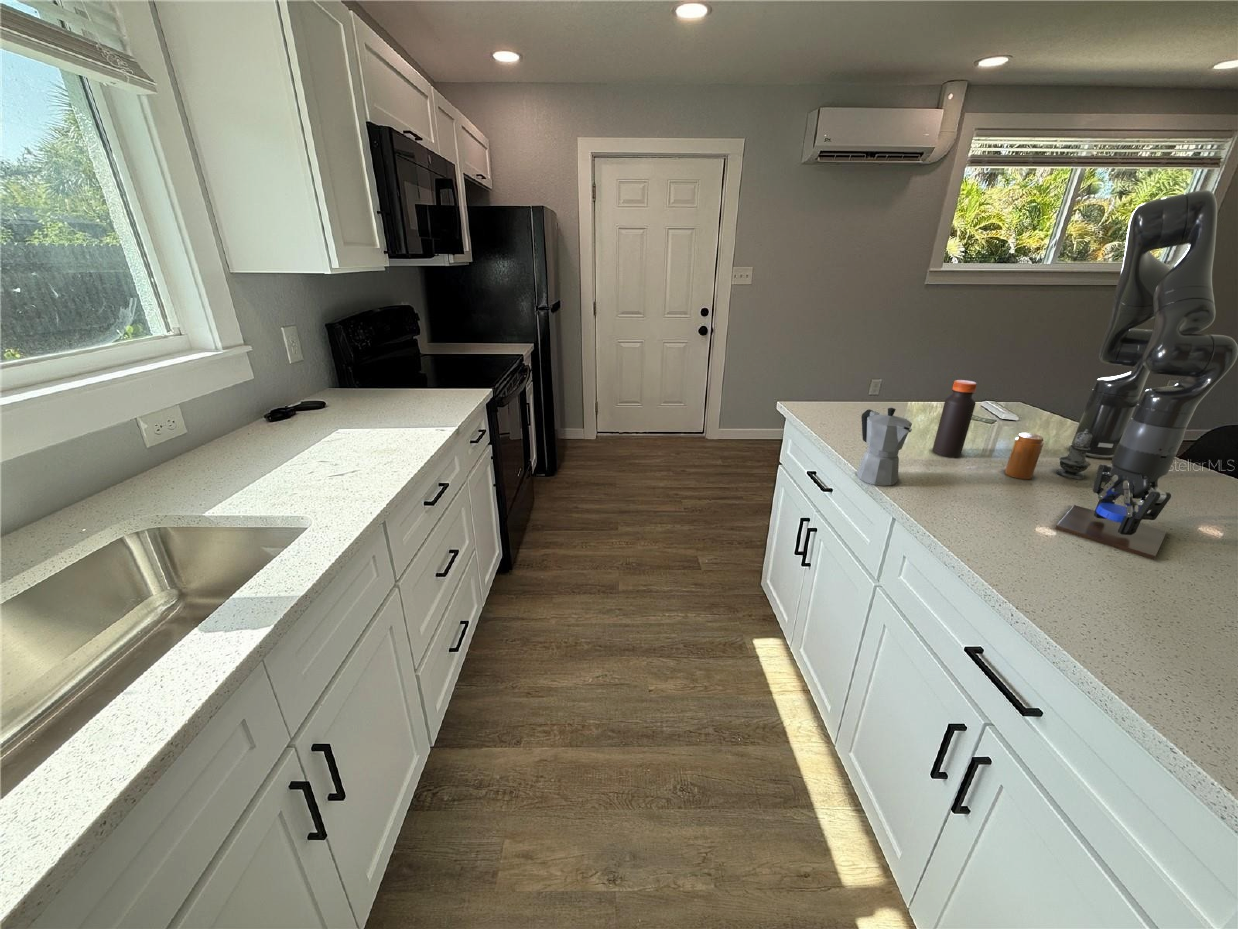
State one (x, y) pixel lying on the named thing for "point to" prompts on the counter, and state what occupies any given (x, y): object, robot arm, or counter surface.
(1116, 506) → the lid
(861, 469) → the coffeepot
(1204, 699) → the counter surface
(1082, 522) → the board
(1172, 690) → the counter surface
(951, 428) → the bottle
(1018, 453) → the jar
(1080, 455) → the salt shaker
